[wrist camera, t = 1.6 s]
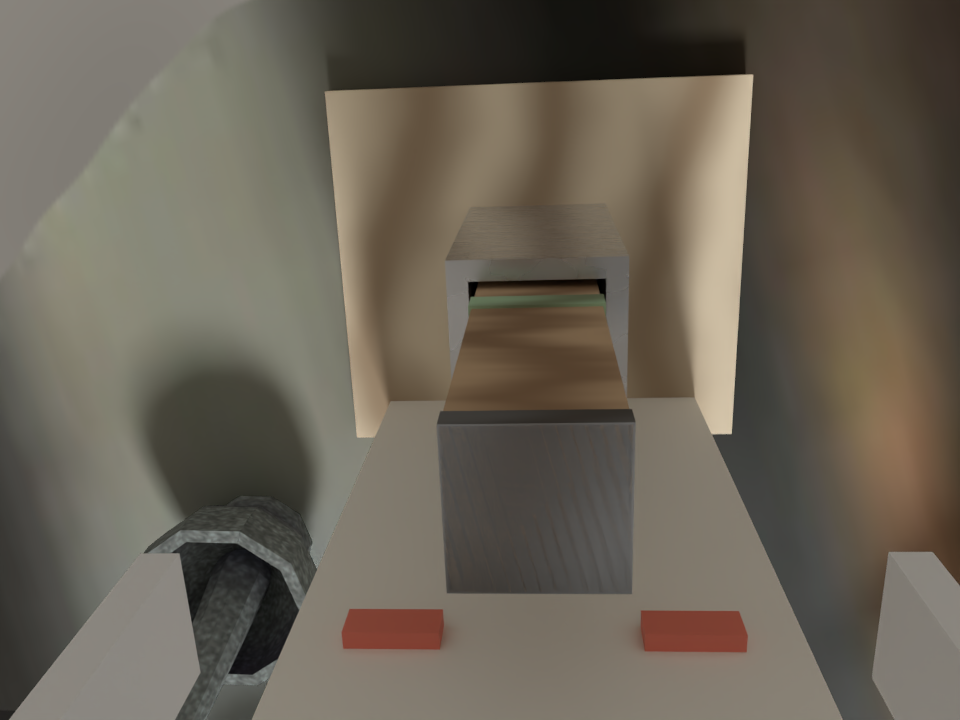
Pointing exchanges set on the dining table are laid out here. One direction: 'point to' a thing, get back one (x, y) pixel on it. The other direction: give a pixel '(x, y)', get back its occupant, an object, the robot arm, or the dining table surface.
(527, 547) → the oak post
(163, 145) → the dining table surface
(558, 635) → the board
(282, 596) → the mortar and pestle
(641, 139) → the birch base plate
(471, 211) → the metal sleeve
